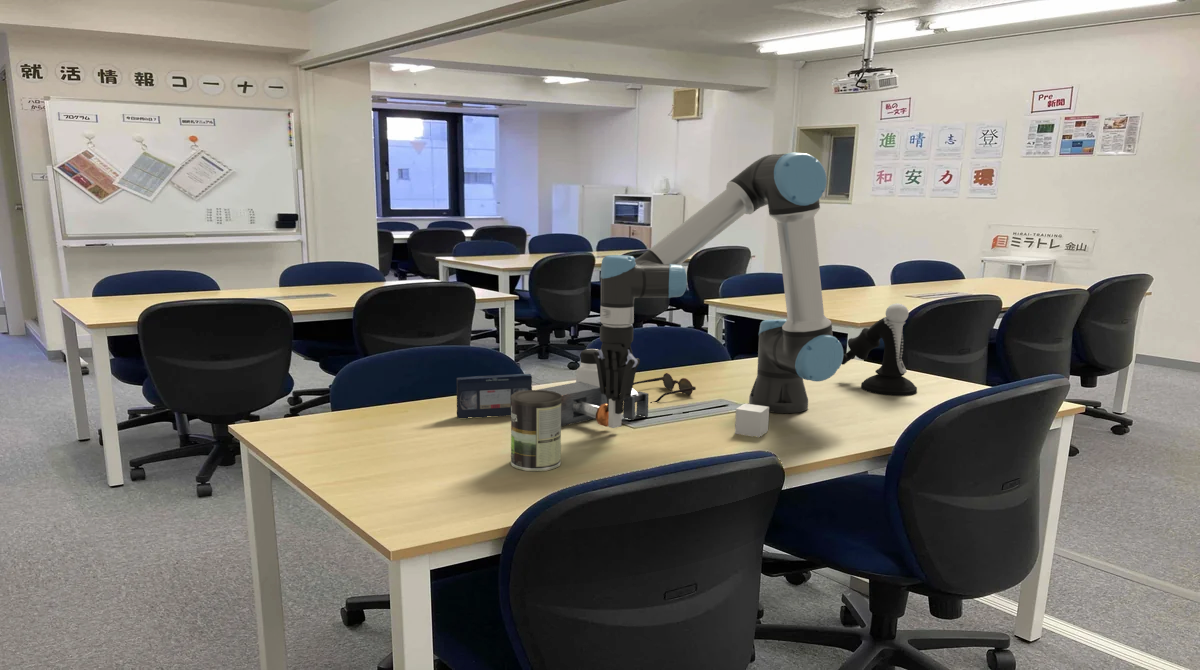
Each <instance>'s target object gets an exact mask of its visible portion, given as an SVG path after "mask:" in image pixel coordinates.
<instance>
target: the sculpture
mask: <svg viewBox="0 0 1200 670" xmlns="http://www.w3.org/2000/svg"><path fill="white" fill-rule="evenodd" d="M909 315H910V314H909V310H908V307H906V305H904V304H902V303H892V304H890V305H889V306H888V307H887V308H886V310H885V316H884V317H883V318H880V319H879V320H877V321H876V322H875V323H874V324H872V325H871V326H870V327H869V328H867V327H864V328H862V330H861V332H860V333H859V334H858V335H857V336H855V337H851V338H849V339H848V340H847V346H848V348H849V350H848V351H847V352H846V353H843V361H842V364H841V365H842V366H843V365H845V364H847V363H848V362H849V361H851V360H854V359H855V358H858V359H859V360H862V361H864V360H867V359H868V355H869V354H870V352H871V351H872V350H874V349H876V348H878V347H880V344H881V342H880V340H882V341H883V344H884V350H883V357H882V363H881V366H880V367H879V368H877V369H876V370H875V373H876V374H874V375H871V376H869V377H867V378H866V379H864V380H863V381H862V382H861V384H860V385H861V386H860V388H861V389H862V390H863V391H865V392H868V393H873V394H876V395H877V394H878V395H883V396H884V395H885V396H893V397H894V396H896V397H898V396H912V395H914V394H917V392H918V390H917V389H918V387H917V386H916V385H915V383H913V382H912V381H911V380H910V379H908V378H906V377H904V375H905V374H906V373H907V369H906V366H905V364H904V362H903V359H902V357H903V354H904V353H903V351H904V334H903V332H904V331H903V328H904V327H903V326H904V325H905V324H906V320H907V319H908V318H909Z"/></svg>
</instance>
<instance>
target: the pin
mask: <svg viewBox="0 0 1200 670" xmlns="http://www.w3.org/2000/svg"><path fill="white" fill-rule="evenodd" d="M573 411H574V412H577V413H581V414H584V415H587V416H590V417H594V418H595V420H596V423H597V424H598V425H599V426H602V427H608V419H609V411H608V410H607V403H604V404H602V405H600V406H595V405H592V404H589V403H585V402H582V401H578V400H575V399H574V400H573ZM608 428H609V427H608Z"/></svg>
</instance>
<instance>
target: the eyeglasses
mask: <svg viewBox="0 0 1200 670" xmlns="http://www.w3.org/2000/svg"><path fill="white" fill-rule="evenodd" d="M658 381H662V383H663V385H664V387H666V388H665V389H668V390H670V389H671V390H670V391H668V392H664V393H663V394H661V395H660V396H659V397H658V398H657V399H656V400H655V401H651V402H649V403H650V404H653V403H652V402H657V403H658V402H659V401H661V400H662V399H663V398H664V397H665V396H667V395H668V396H669V395H674V394H678V393H682V394H683V393H685V394H684V395H687V394H688V396H691V395H692V393H693V391H696V389H697V388H696V386H694V385H693V384H692V382H691V381H690V380H689V379H688V378H684V377H682V378H680V379H679V381H678V380H677V379H676V380H674V379H673V377H672V375H671V374H670V373H669V372H665V373H664V374H663V376H661V377H655V378H650V379H644V380H640V381H634V383H633V386H634V385H639V384H645V383H651V382H658ZM676 384H677V385H678V388H679V389H677V390H673V389H674V387H675V385H676Z"/></svg>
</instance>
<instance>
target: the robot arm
mask: <svg viewBox="0 0 1200 670" xmlns="http://www.w3.org/2000/svg"><path fill="white" fill-rule="evenodd" d="M827 182H828V181H827V173H826V170H825V167H824V166H823V164H822V163H821V162H820V160H818V159H817V158H816V157H814V156H813V155H812V154H809V153H806V152H805V153H804V152H798V151H796V152H787V153H778V154H776V153H775V154H767V155H765V156H762V157H761V158H759V159H757V160H756V161H754V162H753V163H751V164H750V165H749V166H747V167H746V168H744V169H743V170H742V171H741V172H739V173H738V174H737V175H736V176H734V177H733V178H732V179H731V180H730V181H728V182H727V183H726V185H725V186H726V187H725V190H723V191H722V192H721V193H720V194H718V195H717V196H716V197H714V198H713V199H712V200H711V201H709V202H708V203H707V204H706V205H704V206H703V207H702V208H700V209H699V210H698V211H697V212H695V213H694V214H693V215H691V216H690V217H689V218H688V219H686V220H685V221H683V222H682V223H681V224H680V225H679V226H678V227H676V228H675V229H673V230H672V231H671V232H670V233H669V234H667V235H666V236H664V238H662V239H661V240H660V241H658V242H657V243H655V245H653V246H652V247H650V248H649V249H648V250H646V251H645V252H644V253H642V254H641V255H640V256H638V257H634V256H633V255H623V254H622V255H621V254H617V255H616V254H615V255H614V254H611V255H605V256H604V257H602V260H601V265H600V266H601V269H600V275H599V276H600V277H599V278H600V320H599V322H600V324H601V326H599V341H600V342H602V343H601V345H600V349H598V350H599V351H597V352H594V353H593V356H594V358H595V361H596V365H597V371H598V378H599V385H600V392H601V394H605V395H606V397H607V410H608V411H609V419H608V428H611V429H615V428H616V429H617V428H619V427H622V416H623V415H622V414H623V405H624V399H625V398H629V397H631V392H632V388H633V387H634V385H633V383H634V382H635V376H636V373H637V369H638V367H639V365H640V363H641V360H640V358H638V357H637V358H636V357H635V356H634V354H633V350H632V347H631V346H632V342H633V341H634V326H633V324H634V322H635V319H634V318H635V315H634V314H635V312H634V311H635V299H641V298H644V299H646V298H647V299H648V298H649V299H651V298H654V299H655V298H656V299H657V298H668V299H671V298H679V297H683V295H684V294H685V292H686V289H687V286H688V275H687V271H686V269H685V267H684V266H683V265H681V264H683V263H684V262H685V261H686V260H688V259H689V258H690V257H691V256H693V255H694V254H695V253H697V252H698V251H699V250H701V249H703V247H704V246H705V245H707V244H708V243H710V242H711V241H712V240H713V239H714V238H716V237H717V236H719V235H720V234H721V233H722V232H723V231H725V230H726V229H727V228H728V227H730V226H731V225H732V224H733V223H735V222H737V221H738V220H739V219H740V218H741V217H742V216H744V215H752V214H753V213H755V212H756V211H757V210H758V209H760V208H762V207H764V206H767V207H768V214H769V217H771V218H772V219H773V220H774V221H775V222H776V228H777V236H778V244H779V255H780V262H781V263H780V264H781V273H782V281H783V290H784V299H785V300H784V301H785V307H786V316H787V319H785V318H784V319H783V318H781V319H779V318H778V319H764V320H762V321H761V322H760V323H759V324H760V325H759V329H758V333H757V334H758V348H757V349H758V351H757V353H758V354H757V369H756V370H757V373H756V378H755V381H754V384H753V386H752V389H751V390H750V393H749V398H748V404H753V405H760V406H767V407H769V413H777V414H793V413H796V414H797V413H802V412H806V410H808V409H809V397H808V395H807V390H806V387H805V382H804V380H805V381H812V382H823V381H826V380H828V379H830V378H831V377H832V376H834V375H835V374H836V372H837V371H838V370H839V369H840V368H841V365H842V361H843V354H844V348H843V345H842V342H840V340H838V338H837V337H836V336H834V335H833V325H832V321H831V319H829V318H828V317H827V316H825V311H824V303H823V301H824V300H823V292H822V291H823V290H822V283H821V272H820V271H821V270H820V262H819V252H818V243H817V242H818V240H817V234H816V233H817V231H816V224H815V223H816V222H815V215H816V214H817V213H818V212H819V210H820V209H821V206H820V199H821V197H822V196H823V193H824V192H825V190H826V188H827ZM605 387H606V388H605ZM633 389H634V388H633Z"/></svg>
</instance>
